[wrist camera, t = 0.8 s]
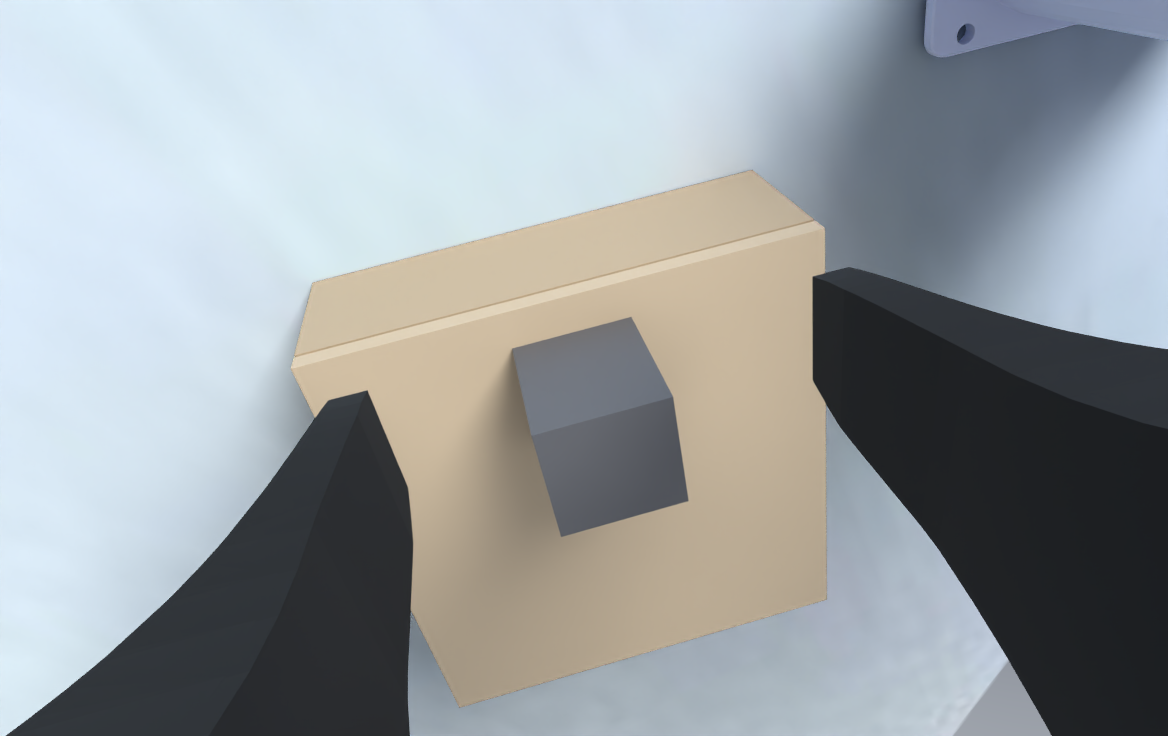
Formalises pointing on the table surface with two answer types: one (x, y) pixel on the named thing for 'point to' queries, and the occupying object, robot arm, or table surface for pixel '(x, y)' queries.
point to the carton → (542, 259)
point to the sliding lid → (605, 460)
